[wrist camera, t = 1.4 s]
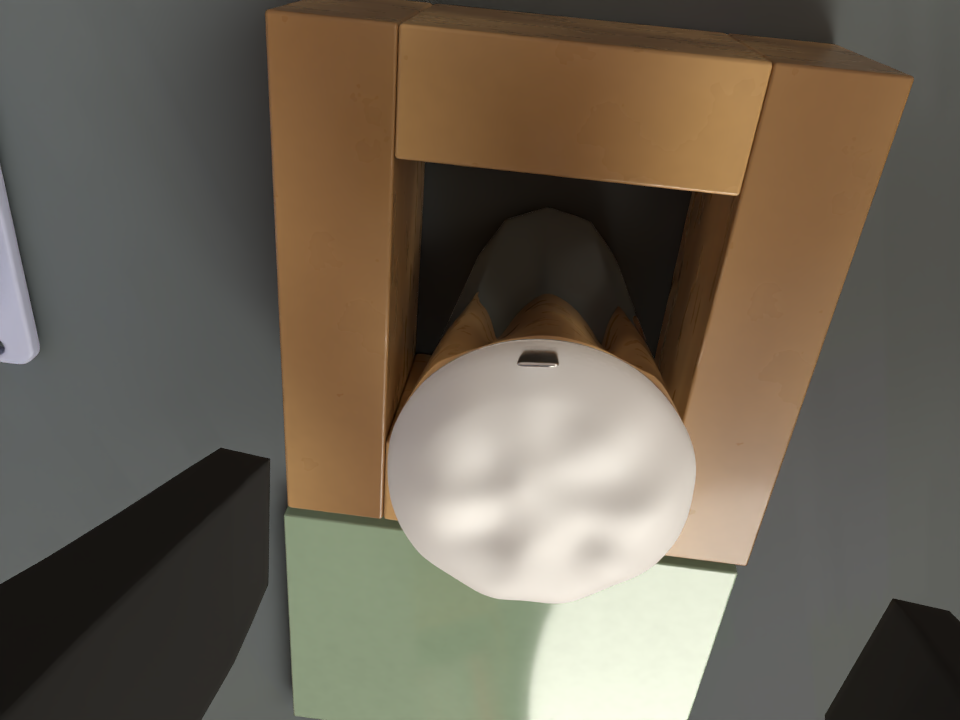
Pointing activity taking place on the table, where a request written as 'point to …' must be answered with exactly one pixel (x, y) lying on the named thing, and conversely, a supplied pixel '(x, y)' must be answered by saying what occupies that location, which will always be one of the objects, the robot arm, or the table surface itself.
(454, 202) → the table surface
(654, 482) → the milkshake
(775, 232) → the holder
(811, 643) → the table surface
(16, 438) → the table surface
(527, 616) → the tile
